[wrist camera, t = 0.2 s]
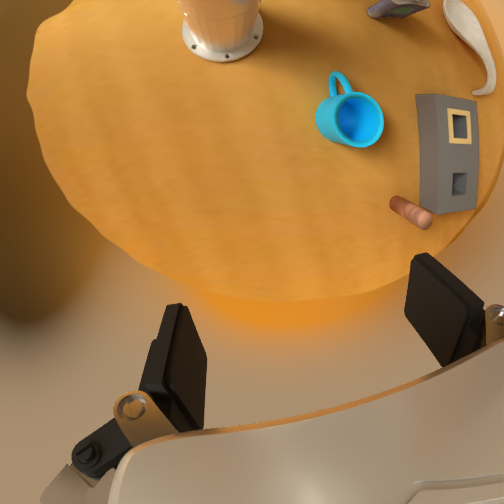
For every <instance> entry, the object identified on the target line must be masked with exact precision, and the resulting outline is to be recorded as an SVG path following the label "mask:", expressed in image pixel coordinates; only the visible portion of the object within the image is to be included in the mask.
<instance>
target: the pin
mask: <svg viewBox="0 0 504 504" xmlns="http://www.w3.org/2000/svg"><path fill="white" fill-rule="evenodd" d="M390 208H391V209H392V210H393V211H395V212H396V213H398V214H400V215H401V216H403V217H404V218H406V219H407V220H409V221H410V222H412V223H413V224H415V225H416V226H418V227H419V228H421V229H422V230H426V229H428V228H429V227H430V226H431V224H432V215H431V214H430V213H428V212H427V211H425V210H423V209H421V208H420V207H418V206H416V205H414V204H412V203H411V202H409V201H407V200H405V199H403V198H401V197H399V196H394V197H392V199H391V200H390Z"/></svg>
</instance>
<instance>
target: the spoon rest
mask: <svg viewBox="0 0 504 504" xmlns="http://www.w3.org/2000/svg"><path fill="white" fill-rule="evenodd" d="M443 14H444V17H445V19H446V21H447V23H448V25H449V27H450V29H451V30H452V31H453V32H454V33H455V34H456V35H457V36H458V37H459V38H460V39H462V40H463V41H464V42H465V43H466V44H468V45H469V46H470V47H471V48H472V49H473V50H474V51H475V52H476V53H477V54H478V55H479V56H480V58H481V59H482V61H483V63H484V65H485V67H486V72H487V80H486V83H485V85H484V87H483V88H481V89H478V90H474V91H472V95H488V94H490V93H492V92H493V90H494V88H495V85H496V68H495V64H494V61H493V58H492V55H491V52H490V50H489V47H488V44H487V41H486V38H485V35H484V33H483V30H482V28H481V25H480V23H479V21H478V19H477V18H476V16H475V15H474V13H473V12H472V11H471V10H470V8H469V7H468V6H466V5H465V4H464V3H463V2H461V1H460V0H444V2H443Z"/></svg>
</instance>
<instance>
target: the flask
mask: <svg viewBox="0 0 504 504" xmlns="http://www.w3.org/2000/svg"><path fill="white" fill-rule="evenodd" d="M429 7H430V3H429V1H428V0H381V1H379V2H378V3H377V4H375V5H373V6H372V7H370V8H369V9H368V10H367V11H368V13H367V14H368V15H369V17H371V18H375V19H379V18H386V19H387V18H390V17H393V18H394V17H397V18H404V17H406V16H408V15H410V14H413V13H416V12H418V11H421V10H424V9H426V8H429Z"/></svg>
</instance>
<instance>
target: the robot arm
mask: <svg viewBox="0 0 504 504" xmlns="http://www.w3.org/2000/svg"><path fill="white" fill-rule="evenodd" d="M176 1H177V3H178V5H179V7H180V9H181V12H182V14H183V16H184V18H185V20H184V22H183V26H182V36H183V40H184V42H185V44H186V46H187V47H188V49H189V50H190V51H191V52H192V53H193V54H194V55H196V56H198V57H199V58H202V59H204V60H207V61H212V62H230V61H234V60H237V59H240V58H242V57H244V56H246V55H247V54H249V53H250V52H252V51H253V50H254V49H255V48H256V46H257V45H258V43H259V42H260V40H261V38H262V34H263V26H264V25H263V20H262V18H261V16H260V13H259V12H258V9H259V5H260V2H261V0H176ZM255 37H256V38H257V39H254V38H255ZM194 47H196V49H193V48H194ZM227 56H229V58H226V57H227ZM483 306H484V302H483V301H482V300H481V299H480V298H479V297H478V296H477V295H476V294H475V293H474V292H473V291H471V290H470V289H469V288H468V287H467V286H466V285H465V284H464V283H463V282H462V281H460V280H459V279H458V278H457V277H456V276H455V275H453V274H452V273H451V272H450V271H449V270H448V269H447V268H445V267H444V266H443V265H442V264H441V263H439V262H438V261H437V260H436V259H435V258H433V257H432V256H431V255H430V254H428V253H422V254H418V255H415V256H414V258H413V259H412V261H411V265H410V274H409V283H408V289H407V296H406V302H405V308H404V312H405V316H406V318H407V319H408V320H409V322H410V323H411V324H412V326H413V327H414V328H415V330H416V331H417V332H418V334H419V335H420V337H421V338H422V339H423V341H424V342H425V343H426V345H427V346H428V348H429V349H430V350H431V352H432V353H433V355H434V356H435V357H436V359H437V361H438V362H439V363H440V365H441V366H442V367H443V368H441V369H439V370H436V371H434V372H432V373H430V374H427V375H425V376H423V377H420V378H418V379H416V380H413V381H411V382H408V383H406V384H403V385H400V386H398V387H395V388H392V389H390V390H387V391H384V392H381V393H378V394H375V395H372V396H369V397H366V398H363V399H360V400H357V401H354V402H350V403H346V404H343V405H339V406H335V407H332V408H328V409H324V410H320V411H316V412H312V413H307V414H303V415H298V416H293V417H288V418H284V419H277V420H271V421H265V422H259V423H253V424H246V425H239V426H230V427H222V428H212V429H204V430H202V429H203V427H204V407H205V388H206V371H207V356H206V352H205V350H204V347H203V345H202V343H201V340H200V338H199V335H198V333H197V330H196V327H195V325H194V322H193V320H192V317H191V314H190V312H189V309H188V307H187V306H183V305H182V304H181V303H178V304H171V305H167V306H166V309H165V312H164V316H163V319H162V323H161V326H160V329H159V333H158V336H157V339H154V340H153V341H152V343H151V346H150V349H149V353H148V356H147V360H146V363H145V367H144V371H143V374H142V378H141V382H140V386H139V389H138V391H136V390H135V391H129V392H127V393H125V394H123V395H122V396H120V397H119V398H118V399H117V401H116V402H115V404H114V407H113V414H114V417H115V418H113V419H112V420H110V421H109V422H108V423H106V424H105V425H103V426H102V427H100V428H99V429H98V430H96V431H95V432H93V433H92V434H91V435H89V436H87V437H86V438H84V439H83V440H81V441H80V442H79V443H78V444H77V445H76V446H75V448H74V449H73V451H72V462H73V463H72V464H71V465H70V466H69V465H68V464H66V465H65V467H64V468H63V469H62V470H61V471H60V473H59V474H58V475H57V476H56V477H55V478H54V480H53V481H52V482H51V483H50V484H49V486H48V487H47V488H46V489H45V490H44V492H43V493H42V495H41V500H40V501H41V504H504V306H502V305H498V304H493V305H490V306H488V307H487V308H486V310H484V309H483Z"/></svg>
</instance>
